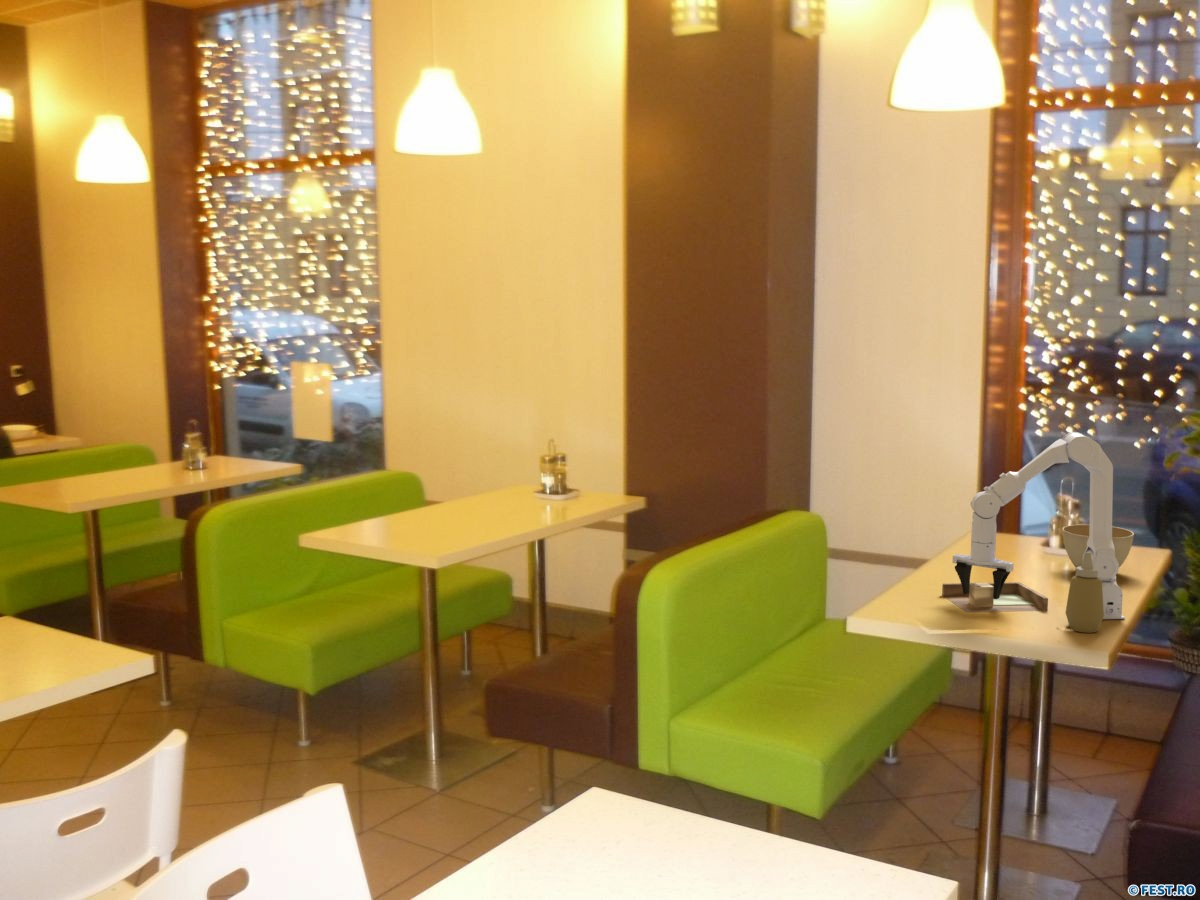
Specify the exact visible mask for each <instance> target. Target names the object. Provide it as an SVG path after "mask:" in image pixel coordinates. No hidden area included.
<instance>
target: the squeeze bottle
mask: <svg viewBox="0 0 1200 900" xmlns="http://www.w3.org/2000/svg"><path fill="white" fill-rule="evenodd" d="M1097 576H1098V569H1097V568H1094V567H1093V563H1092V557H1091V553H1090V552H1085V555H1084V558H1083V561H1082V565H1081V566H1079V567H1077V568H1075V575H1073V576H1072V577H1071V579H1070V583H1069V590H1068V596H1067V602H1066V606H1065V607H1066V608H1065V616H1066V619H1067V623H1068V625H1069V628H1070V629H1071V630H1073V631H1076V632H1079V633H1096V632H1098V630H1099V629H1100V626H1101V624H1102V621H1104V619H1103V617H1104V608H1103V590H1102V581H1101V580H1100V579H1099V578H1098V577H1097Z"/></svg>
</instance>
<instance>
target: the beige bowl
mask: <svg viewBox="0 0 1200 900" xmlns="http://www.w3.org/2000/svg"><path fill="white" fill-rule="evenodd" d="M1134 536H1135V533H1134V532H1133V531H1131V530H1129V529H1126V528H1123V527H1118V526H1117V527H1116V526H1112V541H1113V545H1114V548H1115V557H1116V559H1117V561H1118V564H1119V569H1120V567H1121V566H1122V565H1123V564H1124V563H1125V561H1126V560H1127V557H1128V556H1129V554H1130V551H1131V548H1132V545H1133V541H1134ZM1088 538H1089V524H1071V525H1066V526H1064V527H1062V541H1063V544H1064V548H1065V550H1066V551H1065V552H1066V554H1067V556H1068V559H1069V560H1070V561H1071V564H1072V565H1073V566H1074V568H1075V569H1076V568H1077V567H1079V566H1081V565H1082V561H1083V555H1084V553H1085V551H1086V549H1087V541H1088Z"/></svg>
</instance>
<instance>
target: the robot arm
mask: <svg viewBox="0 0 1200 900" xmlns="http://www.w3.org/2000/svg"><path fill="white" fill-rule="evenodd" d="M1069 458H1070V459H1071V460H1072V461H1074V462H1076V463H1078V464H1080V465H1082V467H1084V468H1085V469H1086V470H1087V471H1089V524H1088V525H1089V538H1088V541H1087V549H1086V551H1085V552H1090V553H1091V557H1092V563H1093V567H1094V568H1097V569H1098V576H1097V577H1098V578H1099V579H1100V580H1101V581H1102V590H1103V608H1104V617H1103V620H1125V619H1126V616H1124V615H1123V614H1122V613H1123V596H1124V594H1123V590H1122V589H1121V587H1120V586H1119V585H1118V583H1117V574H1118V572H1119V570H1120V568H1119V564H1118V561H1117V559H1116V557H1115V548H1114V545H1113V541H1112V527H1113V498H1114V497H1113V494H1114V493H1113V492H1114V490H1113V489H1114V488H1113V487H1114V484H1113V483H1114V465H1113V463H1112V462H1111V460H1110V459H1109V457H1108V456H1107V455H1106V453H1105V452H1104V450H1103V449H1102V447H1101V445H1100V443H1098V442H1096V441H1095V440H1094V439H1092V438H1091V437H1089V436H1085V434H1083V433H1081V432H1077V431H1072V432H1068V433H1067V434H1065V435H1064V436H1063V437H1062V438H1059V439H1057V440H1055V441H1054V442H1053V443H1051V445H1049V446H1048V447H1046V448H1045V449H1043V451H1041V453H1039V454H1038V455H1037V456H1035V457H1034V458H1033V459H1032V460H1030V461H1029V462H1028V463H1027V464H1026V465H1024V466H1023V467H1022V468H1020V469H1019V470H1018V471H1007V473H1004V472H1002V473H1001V474H999V479H997V480H995V482H993V483H992V484H990V486H987V485H986V486H985V487H983V490H984V491H979V492H977V493H976V494H975V495H974V496H972V499H971V501H970V506H971V509H972V510H973V512H972V517H971V518H972V521H971V536H970V537H971V538H970V555H968V554H959V553H958V554H953V555H952V562H951V563H952V564H956V565H955V566H954V570H955V572H956V573H957V577H958V578H959V581H960V583H961V585H962V589H963V594H967V593H969V585H970V583H971V574H972V568H973V566H974V567H979V568H980V567H981V568H987V569H994V570H993V571H992V579H993V583H994V591H993V599H998V598H1000V593H1001V590H1002V587H1003V585H1004V583H1005V582H1006V580H1007V579H1008V576H1009V575H1010V573H1011V572H1013V571H1014V564H1015V563H1014V562H1011V561H1006V560H1004V559H1003V560H1002V559H998V558H996V548H997V547H996V546H997V545H996V544H997V528H998V527H997V526H998V525H997V515H998V514H999V512H1000V509H1001V507H1004V506H1005V505H1007V504H1009V502H1011V501H1013V500H1014V499H1015V498H1017V497H1018V496H1019V495H1020V494H1022V493H1023V492H1024V491H1025V490H1026V485H1027V483H1028V482H1029V481H1030V480H1033V479H1034V478H1035V477H1037V476H1038V475H1040V474H1042V473H1043V472H1044V471H1045V470H1047V469H1049V468H1050V467H1051V466H1053V465H1055V464H1065V463H1066V464H1069V463H1070V461H1069ZM1084 555H1085V553H1084ZM1084 555H1083V558H1084Z"/></svg>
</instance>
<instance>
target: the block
mask: <svg viewBox="0 0 1200 900" xmlns="http://www.w3.org/2000/svg"><path fill="white" fill-rule="evenodd" d="M988 583H989V582H970V585H969V604H971V605H972V606H974V607H993V591H994V587H993V586H992V585H990V584H988Z"/></svg>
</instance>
